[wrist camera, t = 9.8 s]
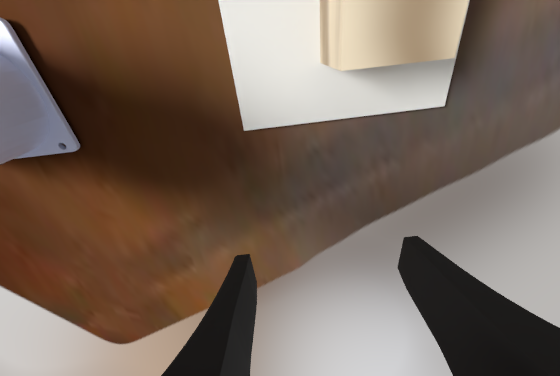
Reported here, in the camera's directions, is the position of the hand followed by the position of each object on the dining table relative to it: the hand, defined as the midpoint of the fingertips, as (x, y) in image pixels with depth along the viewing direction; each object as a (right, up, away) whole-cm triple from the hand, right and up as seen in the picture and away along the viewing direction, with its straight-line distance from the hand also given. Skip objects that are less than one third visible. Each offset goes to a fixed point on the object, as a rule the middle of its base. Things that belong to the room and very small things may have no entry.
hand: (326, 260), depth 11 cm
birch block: (+3, +14, +2) cm, 14 cm away
